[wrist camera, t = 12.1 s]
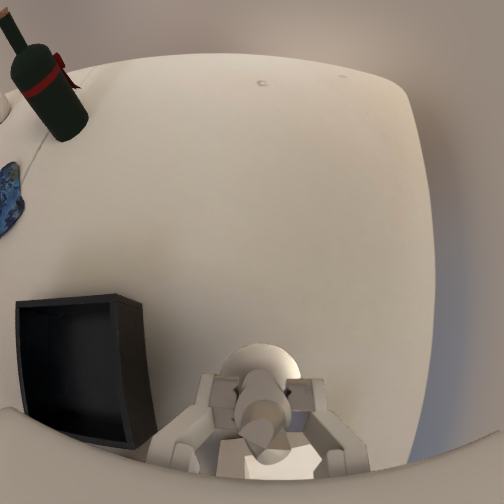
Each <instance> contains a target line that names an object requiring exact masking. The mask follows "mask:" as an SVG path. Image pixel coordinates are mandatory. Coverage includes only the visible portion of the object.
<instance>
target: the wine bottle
mask: <svg viewBox="0 0 504 504" xmlns="http://www.w3.org/2000/svg"><path fill="white" fill-rule="evenodd" d="M0 27H1V29H2V31H3V33H4V34H5V36H6V38H7V39H8V41H9V43H10V45H11V46H12V48H13V49H14V51H15V53H16V57H15V58H14V61H13V63H12V66H11V79H12V80H13V82H14V83H15V85H16V86H17V87H18V89H19V90H20V92H21V93H22V95H23V96H24V97H25V99H26V100H27V102H28V103H29V104H30V106H31V107H32V108H33V110H34V111H35V112H36V114H37V115H38V116H39V118H40V119H41V120H42V122H43V123H44V124H45V126H46V127H47V128H48V129H49V131H50V132H51V133H52V135H53V136H54V137H55V138H56V140H58V141H60V142H64V141H67V140H70V139H72V138H73V137H74V136H76V135H77V134H79V133H80V131H81V130H82V129H83V128H84V127H85V126H86V123H87V121H88V118H89V117H88V113H87V111H86V110H85V108H84V107H83V105H82V104H81V102H80V100H79V99H78V97H77V95H76V94H75V92H74V91H73V89H72V88H74V89H76V88H80V87H78V86H77V85H75V84H74V83H73V82H72V80H71V79H70V78H69V76H68V75H67V74H66V72H65V71H64V70H63V68H65V64H64V62H63V60H62V58H61V56H60V55H59V54H58V53H55V54H54V55H52V53H51V51H50V50H49V48H48V47H47V46H46V45H44V44H32V45H29V46H28V45H27V44H26V42H25V40H24V38H23V36H22V35H21V33H20V31H19V29H18V27H17V26H16V24H15V22H14V20H13V18H12V16H11V14H10V12H8V9H7V7H6V8H5V9H3V10H2V11H1V12H0ZM81 89H82V88H81Z"/></svg>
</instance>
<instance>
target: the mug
mask: <svg viewBox="0 0 504 504" xmlns="http://www.w3.org/2000/svg"><path fill="white" fill-rule="evenodd" d="M9 112H10V105H9V102H8V100H7V98H6V97H5V95H4V94H3V93H2V92H0V123H1V122H2V121H3V120H4V119H5V118H6V117H7V115H8V114H9Z"/></svg>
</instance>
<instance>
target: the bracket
mask: <svg viewBox="0 0 504 504" xmlns="http://www.w3.org/2000/svg"><path fill="white" fill-rule="evenodd" d="M286 435H287V438H288V441H289V444H290V447H291V452H290V453H289V455H288V456H287V457H286V458H285V459H283V460H282V461H280V462H278V463H276V464H272V465H263V464H260V463H259V462H258V461H257V460H256V459H255V458H254V456H253V455H252V453H251V452H250V450H249V448H248V446H247V444H246V442H245V439H244V438H238V439H230V440H221V442H220V450H219V457H218V465H217V473H216V476H219V477H228V478H240V479H257V480H301V479H314V478H313V471H314V470H315V469H316V467H317V466H318V465H319V463H320V462H321V461H322V459H321V457H320V456H319V455H318V453H317V452H316V450H315V449H314V448H313V446H312V445H311V444H310V442H309V441H308V440H307V438H306V437H305V435H304V434H303V432H286Z"/></svg>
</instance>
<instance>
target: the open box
mask: <svg viewBox="0 0 504 504" xmlns="http://www.w3.org/2000/svg"><path fill="white" fill-rule="evenodd" d="M15 329H16V352H17V364H18V374H19V382H20V390H21V396H22V402H23V408H24V413H25V415H27V416H29V417H31V418H32V419H34V420H36V421H38V422H40V423H42V424H44V425H46V426H48V427H50V428H52V429H54V430H56V431H58V432H60V433H63V434H65V435H67V436H69V437H72V438H74V439H76V440H79V441H81V442H86V443H91V444H97V445H103V446H109V447H115V448H123V449H131V450H136V449H137V448H138V447H140V446H141V445H142V444H143V443H145V442H146V441H147V440H148V439H150V438H151V437H152V436H153V435H155V434H156V433H157V432H158V431H157V426H156V420H155V415H154V409H153V403H152V396H151V390H150V382H149V375H148V367H147V358H146V348H145V337H144V325H143V309H142V303H139V302H136V301H134V300H131V299H128V298H126V297H123V296H121V295H119V294H116V293H115V294H104V295H93V296H81V297H69V298H56V299H43V300H28V301H16V308H15Z"/></svg>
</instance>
